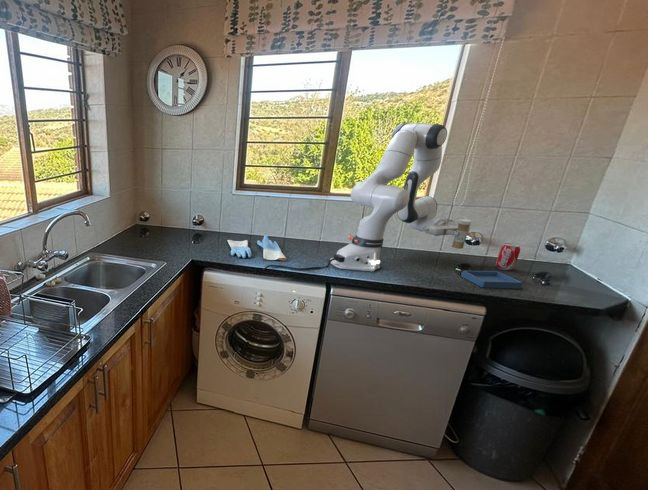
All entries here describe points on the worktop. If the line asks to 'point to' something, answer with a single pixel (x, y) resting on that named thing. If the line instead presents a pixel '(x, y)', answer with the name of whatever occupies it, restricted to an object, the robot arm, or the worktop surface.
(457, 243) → the sprinkles bottle
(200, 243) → the worktop surface
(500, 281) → the blue tray
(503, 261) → the soda can
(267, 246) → the rubber gloves
